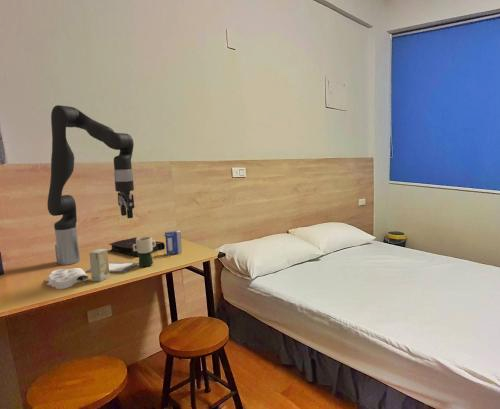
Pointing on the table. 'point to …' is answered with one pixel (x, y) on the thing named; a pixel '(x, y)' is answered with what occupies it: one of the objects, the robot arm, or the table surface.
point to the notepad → (119, 267)
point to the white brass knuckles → (66, 277)
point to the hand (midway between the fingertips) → (127, 216)
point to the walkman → (173, 242)
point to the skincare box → (99, 265)
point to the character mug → (144, 250)
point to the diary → (127, 247)
